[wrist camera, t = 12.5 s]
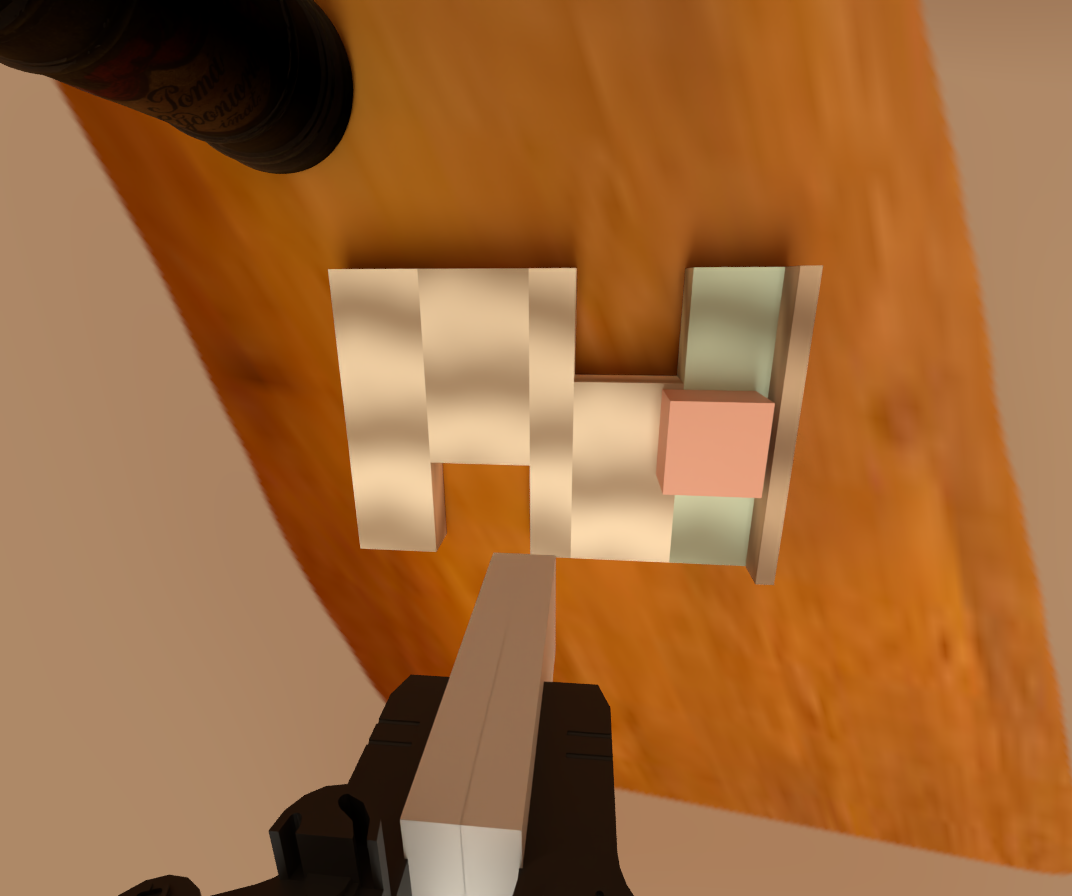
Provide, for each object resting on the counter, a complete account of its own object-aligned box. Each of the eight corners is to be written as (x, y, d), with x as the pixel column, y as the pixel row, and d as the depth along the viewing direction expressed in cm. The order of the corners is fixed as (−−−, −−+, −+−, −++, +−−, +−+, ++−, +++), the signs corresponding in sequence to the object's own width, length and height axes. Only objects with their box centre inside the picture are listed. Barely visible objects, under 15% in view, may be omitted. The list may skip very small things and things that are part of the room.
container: (163, 72, 29) (-461, -235, 12) (271, -61, 26) (-312, -689, 9) (279, 212, 30) (-120, 123, 13) (389, 98, 28) (78, -189, 11)
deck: (347, 270, 31) (309, 268, 27) (788, 268, 29) (822, 265, 24) (375, 530, 36) (346, 564, 32) (750, 546, 34) (773, 585, 30)
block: (662, 389, 29) (670, 400, 26) (756, 391, 28) (775, 403, 25) (655, 474, 30) (662, 494, 27) (744, 477, 30) (761, 498, 27)
